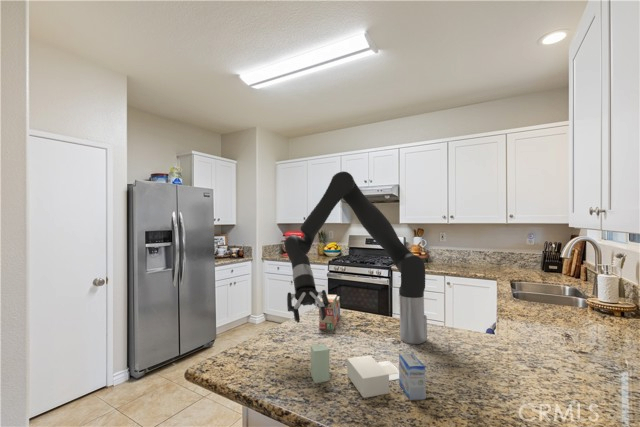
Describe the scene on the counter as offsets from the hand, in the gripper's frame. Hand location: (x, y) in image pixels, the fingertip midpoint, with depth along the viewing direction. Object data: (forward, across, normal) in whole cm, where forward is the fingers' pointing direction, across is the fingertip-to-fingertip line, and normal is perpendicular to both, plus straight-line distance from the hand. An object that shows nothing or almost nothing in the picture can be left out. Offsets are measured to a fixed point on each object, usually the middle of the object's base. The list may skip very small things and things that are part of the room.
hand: (311, 320), depth 98 cm
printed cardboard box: (-16, +18, +36) cm, 43 cm away
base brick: (+22, +12, -3) cm, 25 cm away
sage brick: (+17, 0, +2) cm, 17 cm away
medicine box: (+27, +22, -7) cm, 36 cm away
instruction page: (+18, +21, +1) cm, 28 cm away
